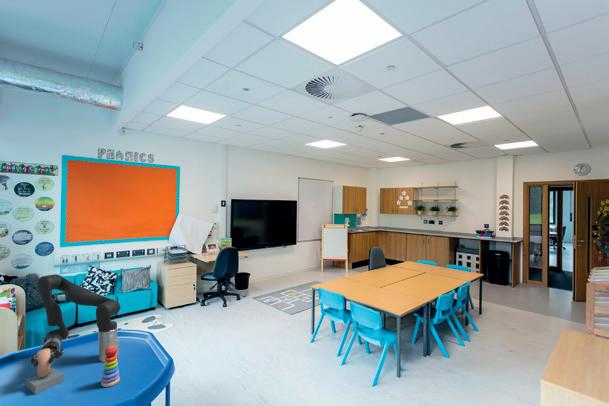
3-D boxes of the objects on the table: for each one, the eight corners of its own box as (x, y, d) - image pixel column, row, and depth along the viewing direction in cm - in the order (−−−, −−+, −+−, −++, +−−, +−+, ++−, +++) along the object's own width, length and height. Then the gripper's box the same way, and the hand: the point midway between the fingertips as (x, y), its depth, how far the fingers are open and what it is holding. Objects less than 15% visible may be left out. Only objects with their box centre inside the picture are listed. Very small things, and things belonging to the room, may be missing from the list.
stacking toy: (110, 388, 148) (110, 351, 148) (97, 386, 150) (96, 350, 149) (123, 379, 156) (122, 343, 156) (110, 377, 158) (109, 342, 157)
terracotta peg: (48, 370, 155) (47, 347, 155) (52, 373, 152) (52, 350, 152) (36, 375, 151) (35, 351, 150) (40, 378, 148) (39, 354, 148)
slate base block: (53, 375, 159) (53, 368, 159) (62, 381, 154) (62, 374, 154) (26, 387, 150) (26, 379, 150) (35, 394, 144) (35, 386, 144)
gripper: (33, 344, 160) (23, 359, 145) (67, 337, 167) (60, 352, 152) (33, 358, 160) (23, 374, 146) (67, 351, 167) (61, 366, 153)
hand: (42, 363), depth 149 cm, fingers closed on terracotta peg, 5 cm apart
